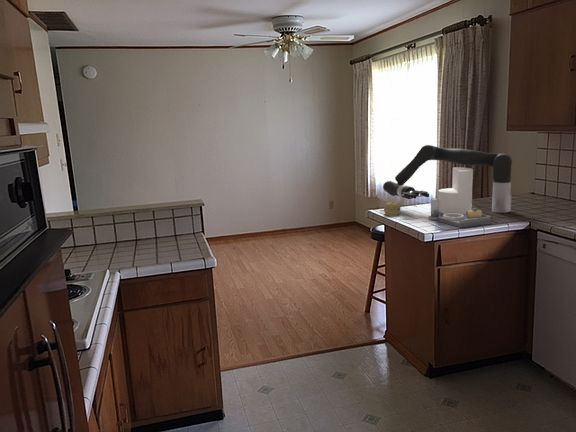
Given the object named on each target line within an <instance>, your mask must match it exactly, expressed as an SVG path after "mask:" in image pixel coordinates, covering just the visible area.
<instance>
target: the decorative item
mask: <svg viewBox="0 0 576 432" xmlns="http://www.w3.org/2000/svg"><path fill="white" fill-rule="evenodd" d="M401 208H402V207H401V205H400V203H399V202H398V201H388V202H386V203H385V205H384V208H383V209H384V215H385V216H389V217H390V216H391V217H395V216H396V217H397V216H399V215H400V213H401V212H400V211H401Z"/></svg>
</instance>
